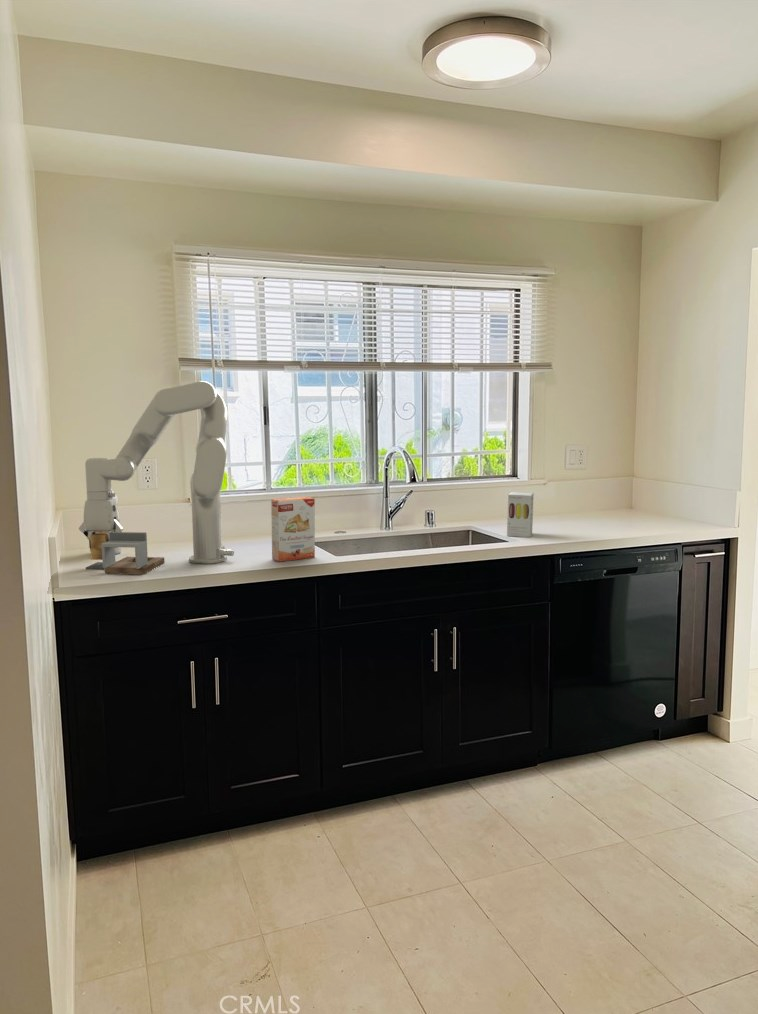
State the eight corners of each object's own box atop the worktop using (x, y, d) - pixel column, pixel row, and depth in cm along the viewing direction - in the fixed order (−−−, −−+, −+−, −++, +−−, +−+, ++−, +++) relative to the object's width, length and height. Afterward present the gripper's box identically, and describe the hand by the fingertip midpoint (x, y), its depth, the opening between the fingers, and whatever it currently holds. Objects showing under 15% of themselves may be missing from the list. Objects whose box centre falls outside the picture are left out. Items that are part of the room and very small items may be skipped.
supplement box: (506, 536, 297) (507, 494, 295) (509, 532, 306) (510, 491, 304) (530, 537, 294) (531, 495, 292) (532, 533, 303) (534, 492, 301)
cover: (147, 563, 239) (146, 532, 237) (138, 568, 232) (136, 536, 230) (113, 563, 240) (111, 531, 239) (102, 568, 233) (101, 535, 232)
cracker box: (279, 562, 251) (277, 500, 248) (271, 559, 256) (270, 498, 253) (316, 557, 258) (315, 497, 255) (307, 554, 263) (306, 495, 260)
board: (164, 563, 250) (164, 557, 250) (144, 574, 235) (144, 567, 234) (127, 562, 252) (127, 556, 251) (105, 573, 236) (104, 567, 236)
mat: (120, 564, 249) (120, 562, 249) (109, 569, 241) (109, 567, 241) (97, 563, 250) (97, 562, 250) (85, 569, 242) (85, 567, 242)
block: (113, 556, 247) (111, 532, 246) (105, 559, 242) (104, 535, 241) (98, 556, 248) (97, 532, 246) (91, 559, 243) (90, 535, 242)
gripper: (129, 495, 245) (131, 549, 247) (80, 494, 247) (83, 548, 249) (119, 498, 237) (121, 554, 240) (68, 497, 239) (71, 552, 242)
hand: (101, 550), depth 245 cm, fingers closed on block, 4 cm apart
